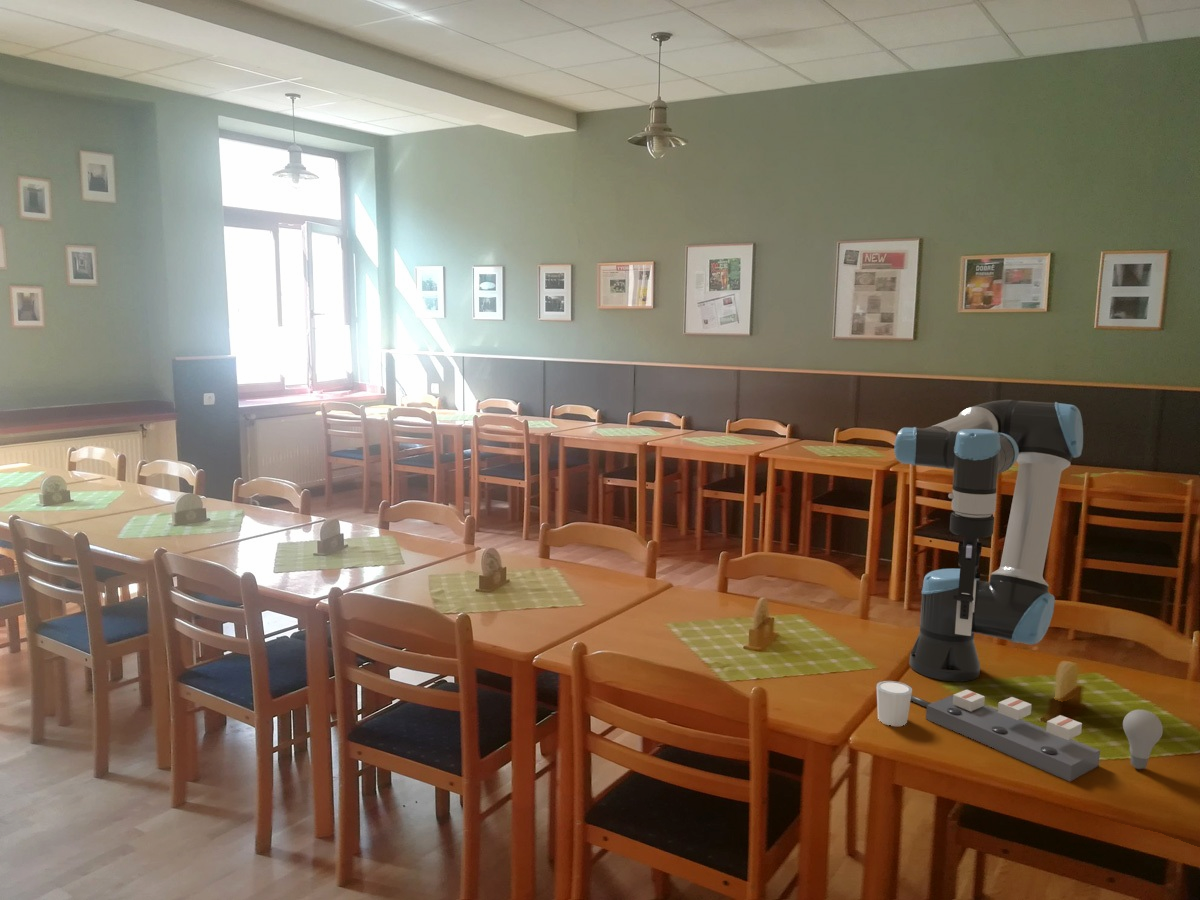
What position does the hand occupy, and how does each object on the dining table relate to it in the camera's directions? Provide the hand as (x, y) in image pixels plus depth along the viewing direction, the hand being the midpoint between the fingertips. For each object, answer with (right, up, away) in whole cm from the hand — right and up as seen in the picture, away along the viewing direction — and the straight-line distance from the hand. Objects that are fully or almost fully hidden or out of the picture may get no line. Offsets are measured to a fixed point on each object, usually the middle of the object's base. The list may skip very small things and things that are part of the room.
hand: (964, 622), depth 166 cm
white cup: (-10, -22, +11) cm, 26 cm away
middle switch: (+10, -18, +2) cm, 21 cm away
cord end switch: (+5, -19, +10) cm, 22 cm away
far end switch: (+16, -19, -6) cm, 26 cm away
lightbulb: (+28, -25, -8) cm, 38 cm away
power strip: (+6, -23, +6) cm, 24 cm away
